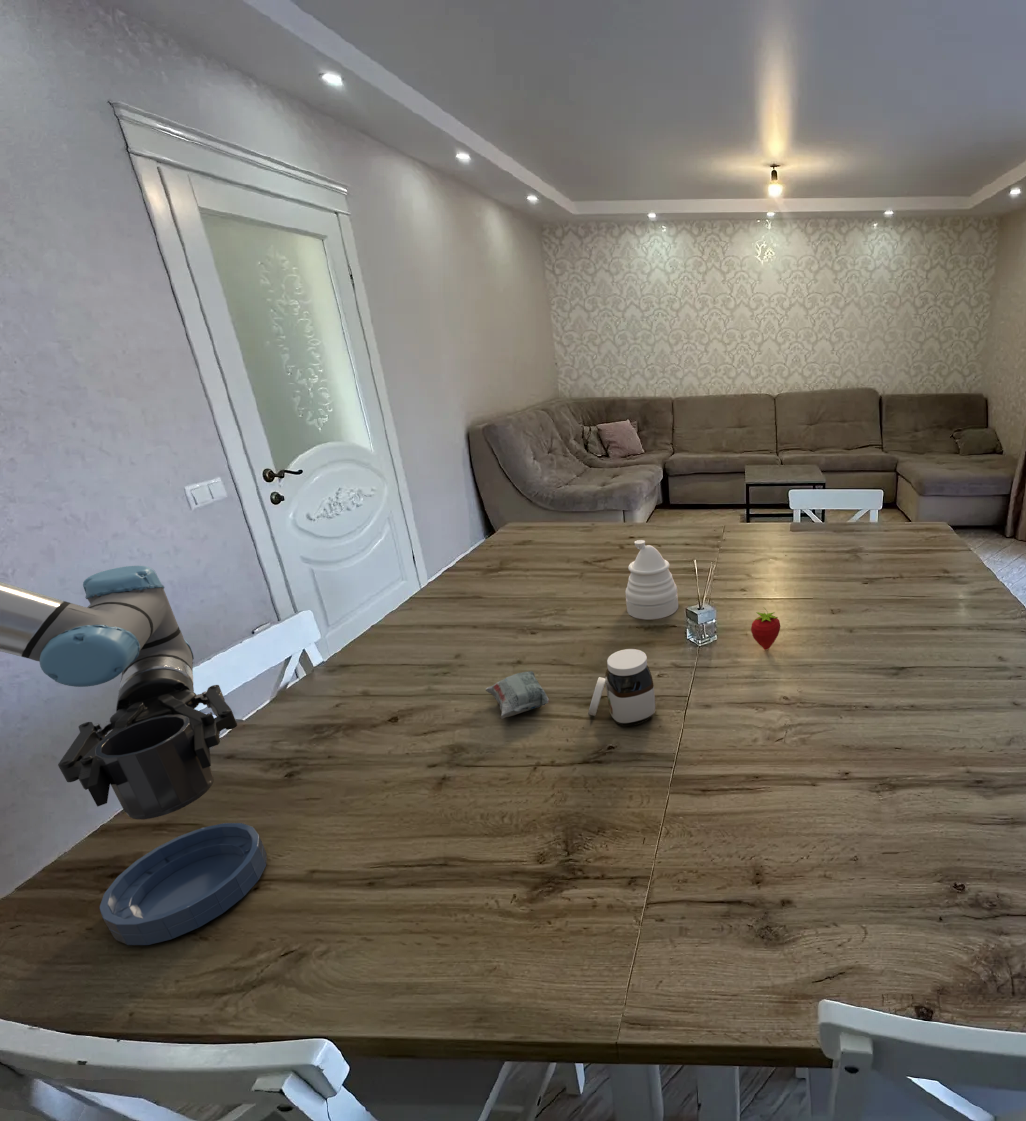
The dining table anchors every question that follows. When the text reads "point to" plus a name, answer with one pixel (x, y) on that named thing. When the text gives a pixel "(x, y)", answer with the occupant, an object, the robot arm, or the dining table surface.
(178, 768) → the coffee cup
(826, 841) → the dining table surface
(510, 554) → the dining table surface
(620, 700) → the spread jar
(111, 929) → the plate
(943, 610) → the dining table surface
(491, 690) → the packaged food
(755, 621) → the strawberry
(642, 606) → the honey pot
